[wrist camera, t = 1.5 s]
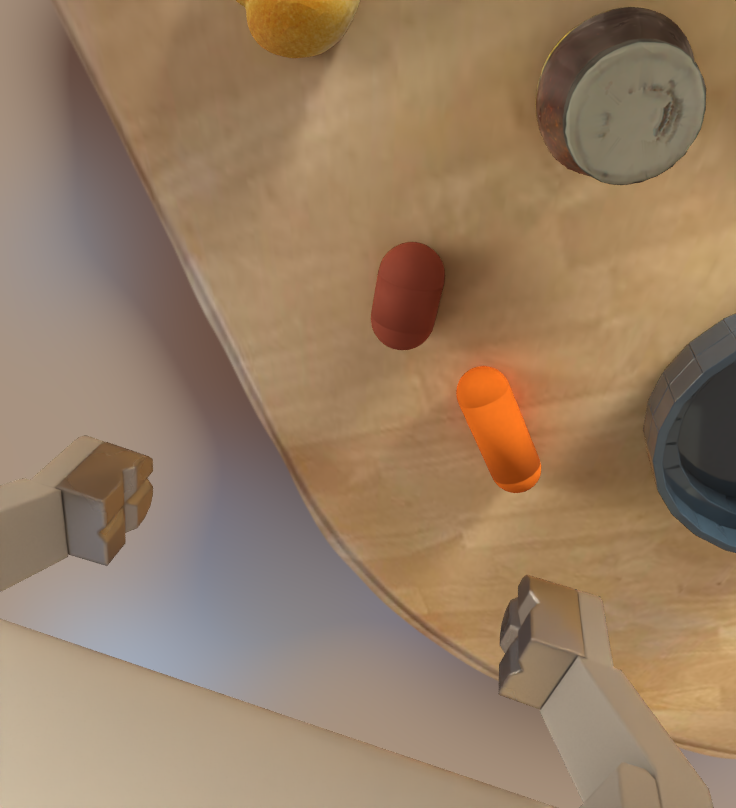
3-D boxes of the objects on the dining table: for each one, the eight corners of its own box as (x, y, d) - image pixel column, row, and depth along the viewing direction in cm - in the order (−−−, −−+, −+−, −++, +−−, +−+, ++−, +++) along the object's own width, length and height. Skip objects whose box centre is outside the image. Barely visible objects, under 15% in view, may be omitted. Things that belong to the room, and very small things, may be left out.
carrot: (451, 365, 46) (445, 391, 43) (500, 350, 44) (498, 376, 41) (501, 479, 51) (499, 510, 47) (548, 468, 49) (549, 500, 46)
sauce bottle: (677, 65, 33) (824, 101, 17) (593, 161, 36) (645, 269, 20) (589, -14, 32) (652, -59, 16) (511, 92, 35) (496, 147, 19)
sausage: (391, 227, 41) (377, 247, 38) (455, 241, 41) (447, 263, 37) (373, 325, 46) (359, 352, 42) (431, 339, 45) (422, 368, 41)
